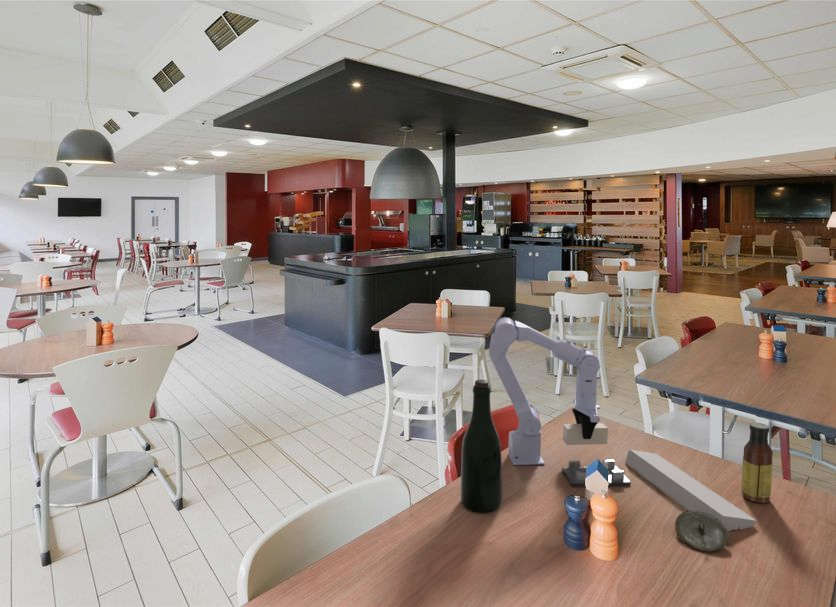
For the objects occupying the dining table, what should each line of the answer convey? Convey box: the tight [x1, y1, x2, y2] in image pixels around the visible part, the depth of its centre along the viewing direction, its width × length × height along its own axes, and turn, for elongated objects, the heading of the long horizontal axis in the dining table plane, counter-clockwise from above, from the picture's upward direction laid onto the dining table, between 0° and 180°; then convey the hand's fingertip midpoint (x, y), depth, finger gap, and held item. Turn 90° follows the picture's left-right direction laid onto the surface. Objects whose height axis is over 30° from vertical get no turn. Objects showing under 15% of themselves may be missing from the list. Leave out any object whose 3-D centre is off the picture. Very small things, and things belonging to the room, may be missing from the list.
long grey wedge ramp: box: [624, 449, 757, 532], centre depth 129 cm, size 34×5×10 cm
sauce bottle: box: [741, 421, 774, 504], centre depth 124 cm, size 6×6×20 cm
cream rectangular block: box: [562, 422, 609, 446], centre depth 144 cm, size 12×4×5 cm, turn 92°
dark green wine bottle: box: [460, 379, 503, 514], centre depth 122 cm, size 10×10×33 cm
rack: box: [561, 459, 632, 488], centre depth 136 cm, size 16×9×4 cm, turn 91°
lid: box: [674, 510, 730, 553], centre depth 109 cm, size 11×10×5 cm
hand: (584, 435), depth 144 cm, fingers closed on cream rectangular block, 3 cm apart
